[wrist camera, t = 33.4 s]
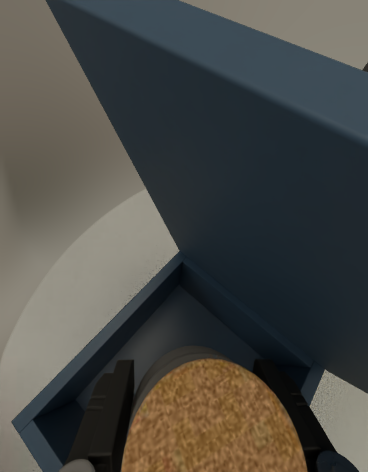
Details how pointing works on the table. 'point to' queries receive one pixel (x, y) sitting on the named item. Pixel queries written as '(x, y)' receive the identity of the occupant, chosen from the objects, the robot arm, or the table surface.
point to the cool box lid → (244, 160)
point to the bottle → (208, 419)
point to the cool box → (158, 351)
